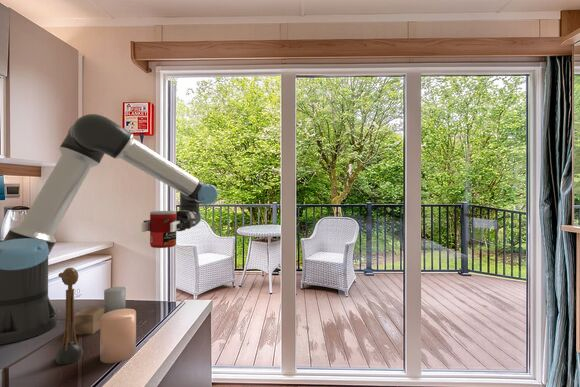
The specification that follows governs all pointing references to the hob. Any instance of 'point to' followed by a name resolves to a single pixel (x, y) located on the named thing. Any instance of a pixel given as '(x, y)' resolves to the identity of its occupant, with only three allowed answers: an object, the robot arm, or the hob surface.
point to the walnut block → (88, 320)
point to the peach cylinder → (117, 335)
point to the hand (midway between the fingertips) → (157, 227)
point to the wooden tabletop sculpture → (69, 322)
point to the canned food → (162, 229)
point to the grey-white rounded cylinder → (114, 299)
